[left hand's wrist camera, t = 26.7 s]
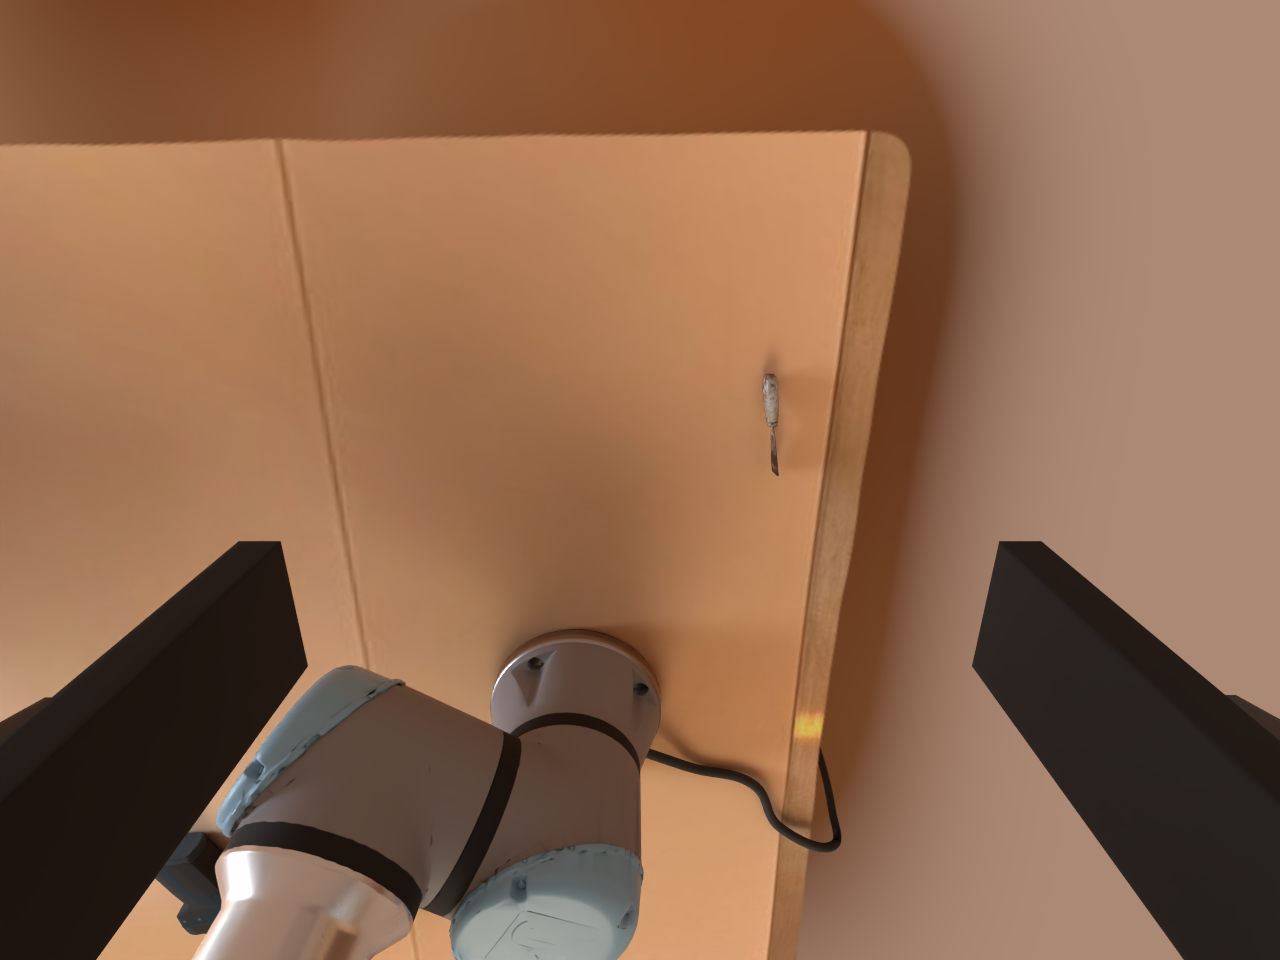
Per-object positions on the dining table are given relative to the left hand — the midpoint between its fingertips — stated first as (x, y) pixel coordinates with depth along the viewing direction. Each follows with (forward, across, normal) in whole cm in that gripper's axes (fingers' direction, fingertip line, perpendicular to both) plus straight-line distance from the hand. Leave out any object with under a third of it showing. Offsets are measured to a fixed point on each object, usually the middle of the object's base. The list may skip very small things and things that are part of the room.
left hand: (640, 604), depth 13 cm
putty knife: (+40, -10, +9) cm, 42 cm away
